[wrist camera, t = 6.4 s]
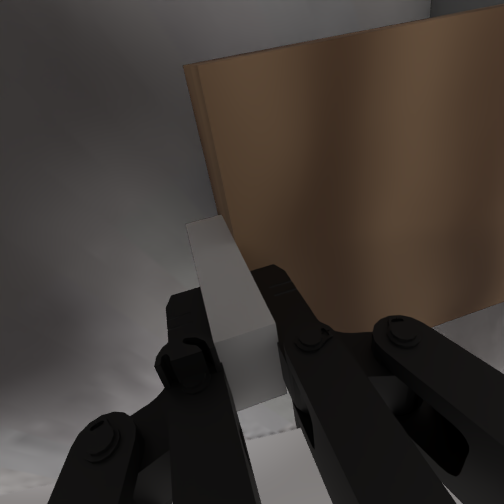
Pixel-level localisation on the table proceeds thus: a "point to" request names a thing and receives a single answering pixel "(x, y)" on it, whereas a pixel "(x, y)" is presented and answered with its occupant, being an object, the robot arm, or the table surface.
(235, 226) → the slab
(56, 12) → the table surface
